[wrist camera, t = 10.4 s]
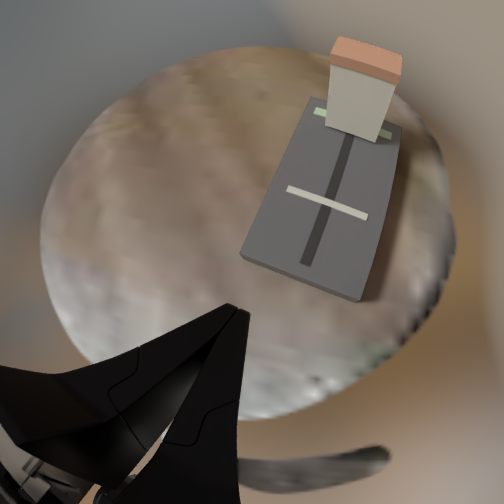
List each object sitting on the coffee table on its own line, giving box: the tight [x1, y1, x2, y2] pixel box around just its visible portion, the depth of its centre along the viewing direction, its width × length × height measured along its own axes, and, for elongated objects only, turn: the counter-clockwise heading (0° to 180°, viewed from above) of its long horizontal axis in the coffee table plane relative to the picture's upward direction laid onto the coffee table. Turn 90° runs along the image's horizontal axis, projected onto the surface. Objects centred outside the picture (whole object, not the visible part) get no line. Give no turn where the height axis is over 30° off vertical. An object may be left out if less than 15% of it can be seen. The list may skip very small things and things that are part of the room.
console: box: [239, 97, 402, 302], centre depth 23 cm, size 18×10×2 cm, turn 156°
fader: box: [325, 36, 402, 143], centre depth 19 cm, size 3×5×9 cm, turn 66°
